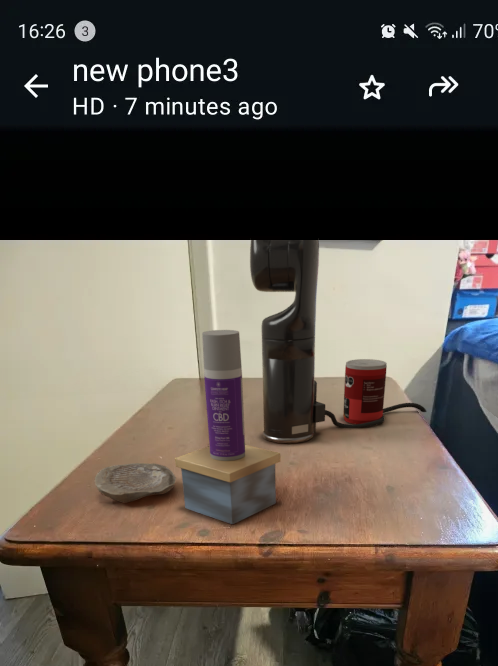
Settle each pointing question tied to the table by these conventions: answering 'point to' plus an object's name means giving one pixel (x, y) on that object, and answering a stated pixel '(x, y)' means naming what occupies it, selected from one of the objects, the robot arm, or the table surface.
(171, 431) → the table surface
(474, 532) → the table surface
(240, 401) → the container
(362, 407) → the canned food
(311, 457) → the table surface
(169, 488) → the fossil
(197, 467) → the board box
